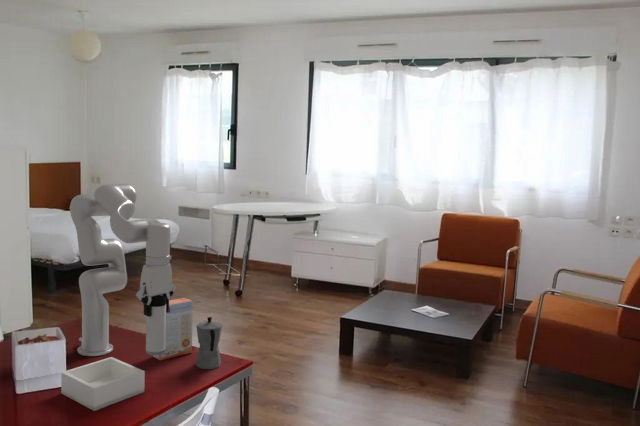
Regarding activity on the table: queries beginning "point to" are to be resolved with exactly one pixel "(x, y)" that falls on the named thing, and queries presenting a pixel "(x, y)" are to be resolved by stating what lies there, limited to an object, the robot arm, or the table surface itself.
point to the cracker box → (178, 329)
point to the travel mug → (156, 326)
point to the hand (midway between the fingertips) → (156, 312)
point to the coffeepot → (208, 344)
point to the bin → (102, 383)
